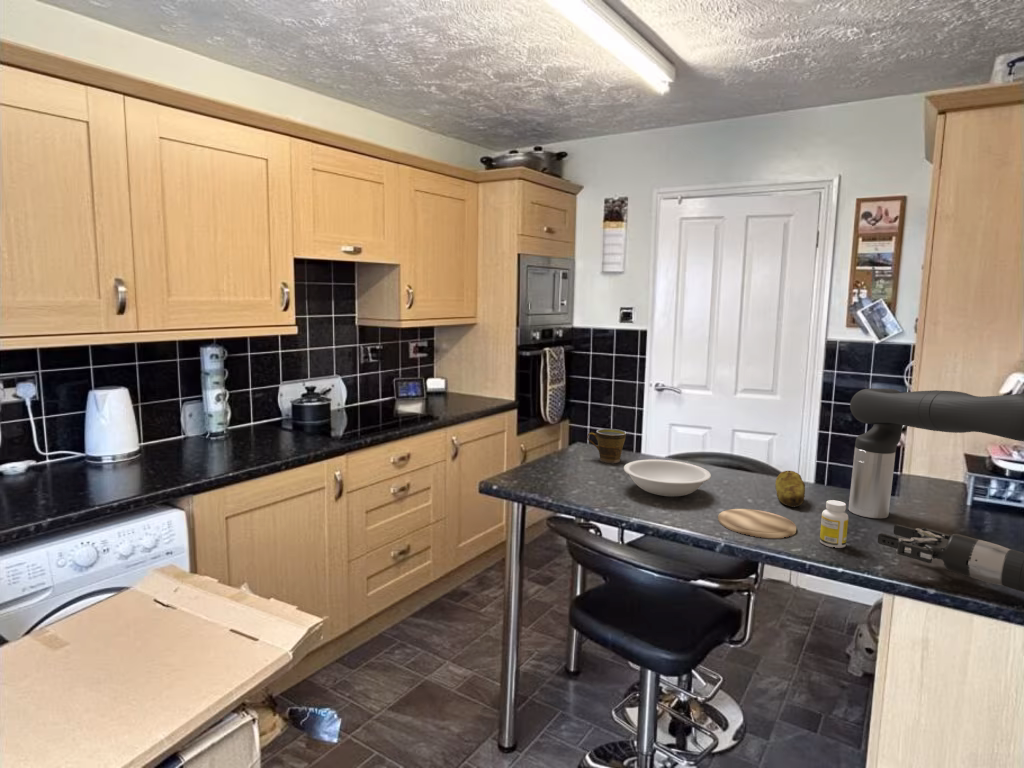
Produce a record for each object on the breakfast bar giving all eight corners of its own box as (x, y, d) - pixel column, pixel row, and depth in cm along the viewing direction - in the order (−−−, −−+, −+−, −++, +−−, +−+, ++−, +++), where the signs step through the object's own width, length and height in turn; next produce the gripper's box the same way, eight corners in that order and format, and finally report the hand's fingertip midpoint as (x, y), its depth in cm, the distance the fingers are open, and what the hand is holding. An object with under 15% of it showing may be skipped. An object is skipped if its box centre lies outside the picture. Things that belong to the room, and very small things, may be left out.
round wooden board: (742, 507, 165) (743, 504, 165) (809, 527, 151) (810, 524, 151) (703, 521, 154) (703, 517, 154) (772, 544, 140) (772, 540, 140)
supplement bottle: (837, 539, 144) (841, 499, 143) (850, 548, 139) (855, 507, 137) (814, 539, 144) (818, 498, 143) (827, 548, 139) (831, 506, 137)
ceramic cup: (624, 457, 214) (625, 429, 212) (625, 465, 204) (627, 435, 203) (586, 455, 215) (587, 427, 214) (585, 463, 206) (587, 433, 204)
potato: (768, 505, 167) (771, 476, 166) (776, 493, 178) (778, 466, 177) (802, 511, 163) (804, 482, 162) (808, 498, 174) (810, 471, 173)
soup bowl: (616, 499, 169) (617, 476, 168) (629, 476, 191) (630, 456, 190) (708, 511, 161) (710, 487, 160) (710, 486, 184) (711, 464, 183)
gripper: (991, 532, 124) (901, 510, 136) (968, 549, 115) (874, 523, 127) (986, 568, 125) (897, 542, 137) (963, 587, 116) (871, 558, 128)
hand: (886, 533), depth 132 cm, fingers open, 8 cm apart
